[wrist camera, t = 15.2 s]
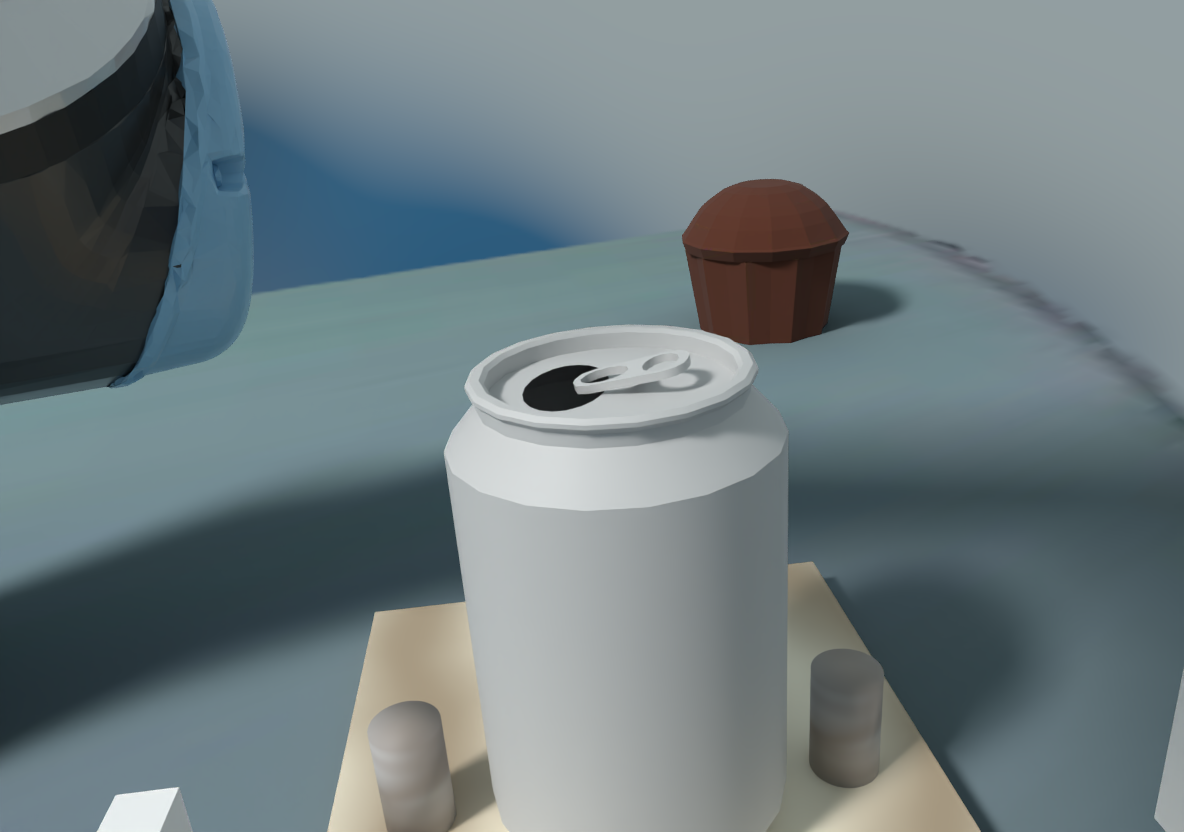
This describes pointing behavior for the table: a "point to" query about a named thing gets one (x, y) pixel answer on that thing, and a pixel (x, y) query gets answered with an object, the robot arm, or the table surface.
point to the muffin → (764, 261)
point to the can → (626, 580)
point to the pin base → (460, 759)
